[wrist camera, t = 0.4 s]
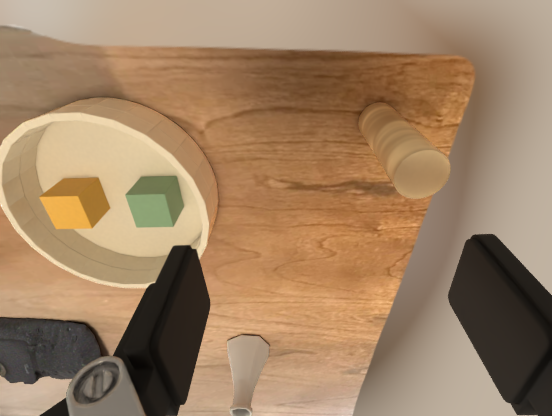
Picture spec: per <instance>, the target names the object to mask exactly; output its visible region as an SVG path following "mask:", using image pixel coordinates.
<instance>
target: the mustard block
mask: <svg viewBox="0 0 552 416" xmlns="http://www.w3.org/2000/svg"><path fill="white" fill-rule="evenodd" d="M39 198H40V200H41V202H42V204H43V206H44V207H45V209H46V211H47V213H48V215H49V217H50V219H51V221H52V223H53V225H54V226H55V228H56V229H92V228H93V227H94V226H95V225H96V224H97V223H98V222H99V220H100V219H101V218H102V217H103V216H104V215H105V214H106V213H107V212H108V210H109V209H110V206H109V203H108V201H107V198H106V196H105V193H104V191H103V188H102V185H101V183H100V180H99V178H65V179H62V180H61V181H59V182H58V183H57V184H55V185H54V186H53V187H51V188H50V189H49V190H47V191H46V192H45V193H43V194H42V195H41V196H39Z"/></svg>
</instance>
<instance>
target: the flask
mask: <svg viewBox="0 0 552 416" xmlns="http://www.w3.org/2000/svg"><path fill="white" fill-rule="evenodd" d="M227 351H228V357H229V362H230V367H231V372H232V378H233V385H234V399H233V405H232V406H231V407H230V415H232V416H252V408H251V400H252V396H253V392H254V388H255V386H256V384H257V381H258V379H259V376H260V374H261V372H262V370H263V367H264V365H265V363H266V361H267V359H268V356H269V345H268V344H267V343H266V342H265V341H264V340H263V339H262V338H261V337H260V336H246V335H241V336H238V337H236V338H233V339H231V340H228V341H227Z"/></svg>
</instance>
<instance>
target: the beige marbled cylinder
mask: <svg viewBox="0 0 552 416" xmlns="http://www.w3.org/2000/svg"><path fill="white" fill-rule="evenodd" d="M358 126H359V130H360V132H361V133H362V135H363V136H364V138H365V140H366V141H367V143H368V145H369V146H370V148H371V149H372V151H373V153H374V154H375V156H376V157H377V159H378V161H379V162H380V164H381V166H382V167H383V169H384V170H385V172H386V174H387V175H388V177H389V178H390V180H391V182H392V183H393V185H394V187H395V188H396V190H397V191H398V192H399V193H400V194H401V195H403V196H405V197H407V198H412V199H420V198H425V197H428V196H431V195H432V194H434V193H436V192H437V191H439V190H440V189H441V188H442V187H443V186H444V185H445V183H446V182H447V180H448V178H449V175H450V170H451V167H450V162H449V160H448V158H447V157H446V156H445V155H444V154H443V153H442V152H441V151H440V150H439V149H438V148H437V147H435V146H434V145H433V144H432V143H431V142H430V141H429V140H428V139H427V138H425V137H424V136H423V135H422V134H421V133H420V132H419V131H418V130H417V129H416V128H414V127H413V126H412V125H411V124H410V123H409V122H408V121H407V120H406V119H404V118H403V117H402V116H401V115H400V114H399V113H398V112H397V111H396V110H395V109H393V108H392V107H391V106H390V105H389V104H387V103H383V102H377V103H373V104H371V105H369V106H368V107H366V108H365V109H364V110H363V112H362V113H361V115H360V117H359V121H358Z"/></svg>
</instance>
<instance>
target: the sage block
mask: <svg viewBox="0 0 552 416" xmlns="http://www.w3.org/2000/svg"><path fill="white" fill-rule="evenodd" d="M125 196H126V199H127V202H128V205H129V208H130V211H131V214H132V216H133V219H134V222H135V225H136V227H137V228H144V227H174V225H175V223H176V221H177V219H178V217H179V216H180V214H181V212H182V210H183V208H184V204H183V200H182V196H181V192H180V187H179V183H178V179H177V176H150V177H140V178H139V180H138V181H137V182H136V183H135V184H134V185H133V186H132V188H131V189H130V190H129V191H128V192H127V193H126V194H125Z"/></svg>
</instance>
